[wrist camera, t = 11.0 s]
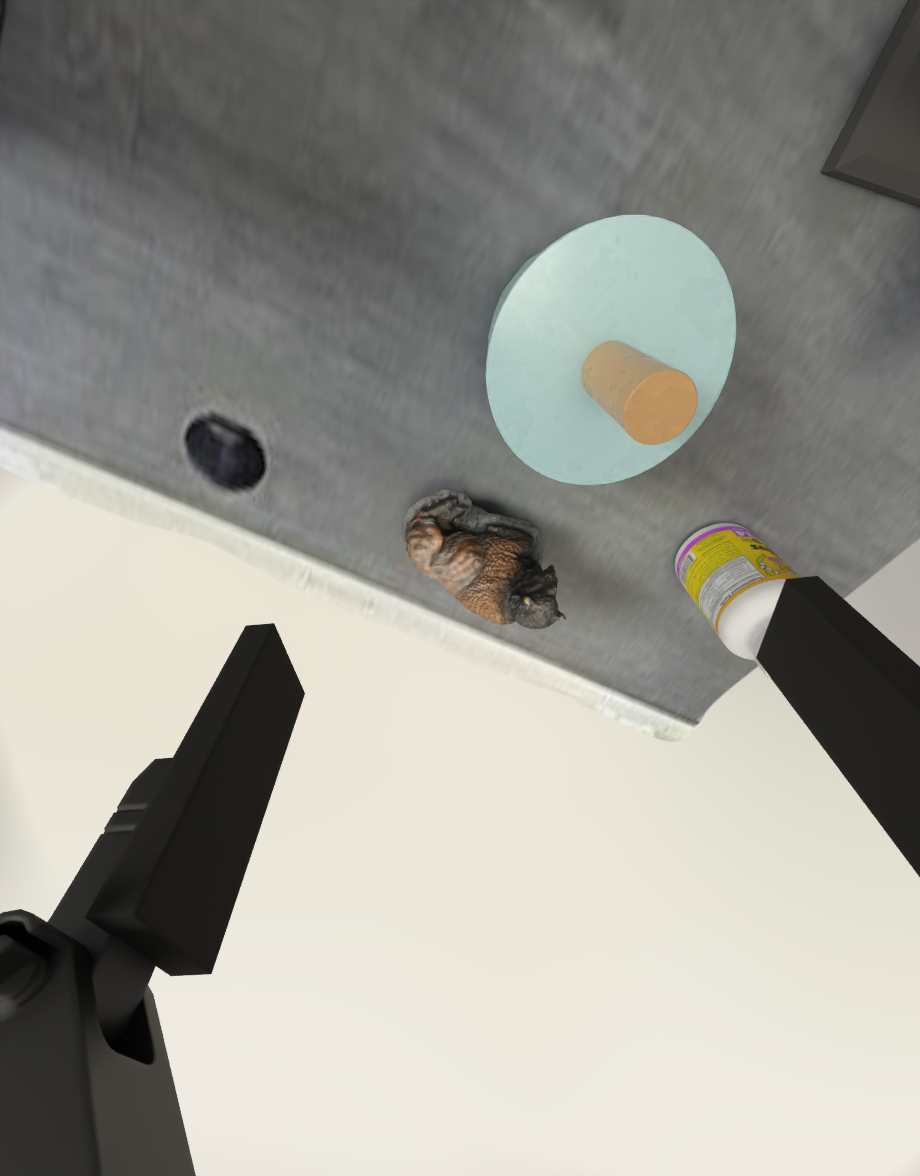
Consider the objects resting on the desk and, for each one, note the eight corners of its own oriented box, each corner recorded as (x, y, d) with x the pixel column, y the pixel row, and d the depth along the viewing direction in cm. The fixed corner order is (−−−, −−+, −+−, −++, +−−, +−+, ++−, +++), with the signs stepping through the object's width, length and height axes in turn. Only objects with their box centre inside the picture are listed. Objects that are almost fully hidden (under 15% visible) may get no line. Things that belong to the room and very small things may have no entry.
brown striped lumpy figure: (395, 541, 39) (380, 617, 31) (419, 465, 35) (408, 528, 27) (526, 580, 41) (544, 659, 33) (562, 512, 38) (591, 583, 29)
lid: (480, 228, 21) (492, 213, 14) (757, 204, 21) (910, 177, 14) (488, 484, 29) (499, 558, 22) (694, 470, 28) (774, 541, 21)
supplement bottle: (765, 555, 40) (874, 660, 30) (693, 597, 43) (771, 708, 32) (731, 503, 37) (840, 599, 27) (657, 552, 40) (730, 657, 29)
